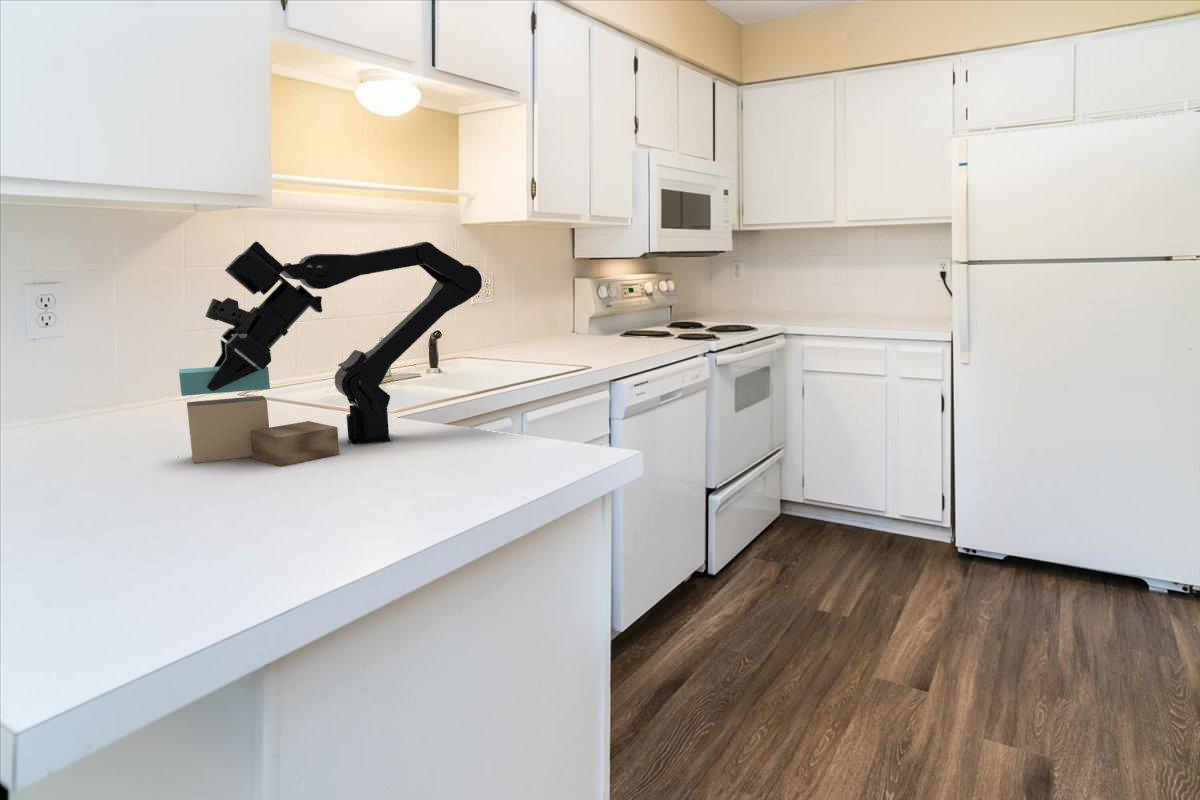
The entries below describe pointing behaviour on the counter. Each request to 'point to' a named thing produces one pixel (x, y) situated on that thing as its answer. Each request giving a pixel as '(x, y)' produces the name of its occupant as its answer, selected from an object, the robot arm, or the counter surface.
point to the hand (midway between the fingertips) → (208, 386)
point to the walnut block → (294, 443)
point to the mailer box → (225, 427)
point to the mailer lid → (199, 378)
